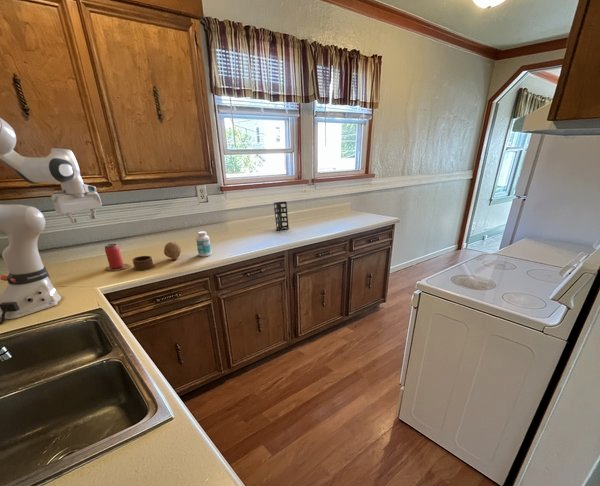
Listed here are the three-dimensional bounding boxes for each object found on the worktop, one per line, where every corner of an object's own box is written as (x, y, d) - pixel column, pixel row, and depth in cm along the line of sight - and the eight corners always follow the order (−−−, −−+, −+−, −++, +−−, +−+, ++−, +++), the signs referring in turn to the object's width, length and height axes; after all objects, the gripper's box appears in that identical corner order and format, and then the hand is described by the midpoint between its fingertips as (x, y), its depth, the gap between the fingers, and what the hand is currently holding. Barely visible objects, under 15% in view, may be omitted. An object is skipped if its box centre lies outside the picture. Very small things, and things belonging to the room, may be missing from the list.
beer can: (118, 269, 171) (111, 246, 165) (107, 268, 172) (100, 246, 167) (126, 265, 177) (120, 243, 171) (116, 264, 178) (109, 243, 172)
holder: (279, 230, 247) (277, 202, 239) (273, 229, 252) (270, 202, 244) (290, 228, 253) (288, 201, 245) (284, 227, 259) (282, 201, 251)
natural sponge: (170, 263, 181) (166, 245, 176) (162, 259, 186) (159, 242, 182) (185, 259, 187) (182, 242, 182) (177, 256, 192) (174, 239, 187)
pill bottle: (196, 255, 194) (192, 232, 187) (207, 252, 198) (204, 230, 192) (202, 257, 189) (199, 234, 183) (214, 254, 194) (210, 232, 187)
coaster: (116, 272, 168) (115, 271, 168) (101, 269, 172) (101, 268, 172) (133, 266, 177) (133, 265, 177) (119, 263, 181) (118, 262, 181)
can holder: (143, 271, 169) (141, 262, 167) (130, 269, 173) (128, 259, 170) (157, 265, 177) (155, 256, 174) (144, 263, 180) (142, 255, 178)
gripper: (54, 192, 135) (66, 225, 142) (99, 186, 152) (107, 217, 158) (45, 191, 137) (57, 224, 144) (90, 186, 154) (98, 216, 160)
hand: (84, 220), depth 151 cm, fingers open, 8 cm apart
